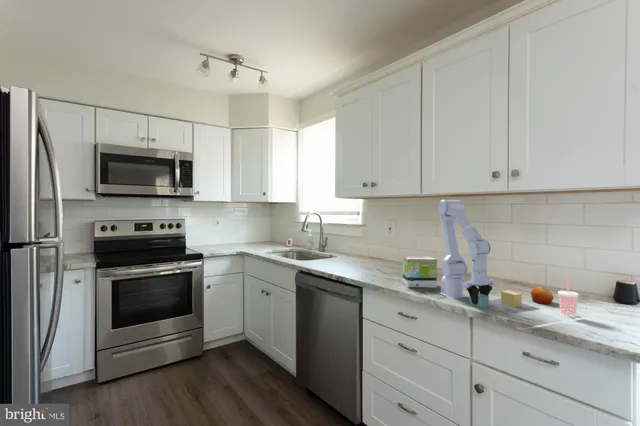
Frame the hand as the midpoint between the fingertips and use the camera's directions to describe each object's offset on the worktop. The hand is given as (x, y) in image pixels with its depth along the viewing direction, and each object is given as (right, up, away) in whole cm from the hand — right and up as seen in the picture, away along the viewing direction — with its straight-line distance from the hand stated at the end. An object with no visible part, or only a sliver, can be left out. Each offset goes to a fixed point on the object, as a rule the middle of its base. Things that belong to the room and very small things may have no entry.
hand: (478, 303), depth 135 cm
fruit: (+28, -1, +4) cm, 29 cm away
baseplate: (+13, -1, 0) cm, 13 cm away
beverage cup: (+27, -2, -13) cm, 30 cm away
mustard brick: (+14, -1, +1) cm, 14 cm away
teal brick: (0, -1, 0) cm, 1 cm away
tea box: (-13, -1, +37) cm, 39 cm away
